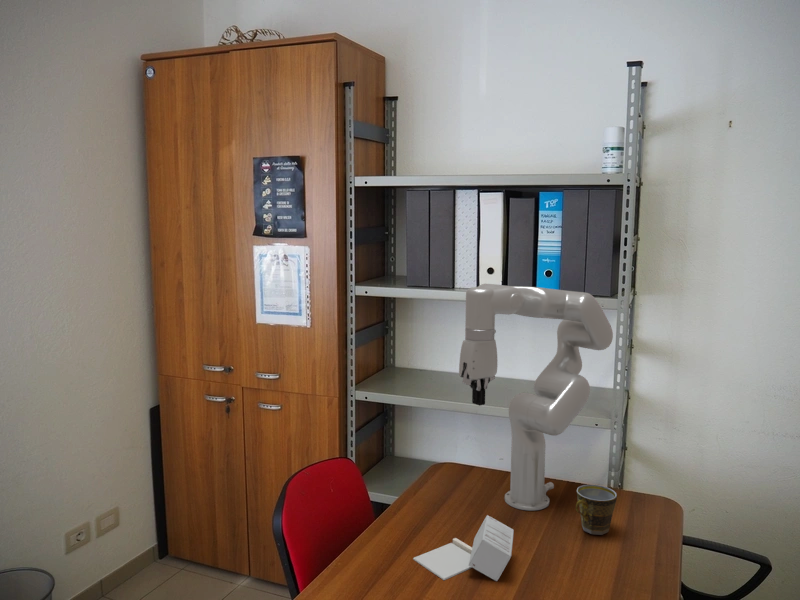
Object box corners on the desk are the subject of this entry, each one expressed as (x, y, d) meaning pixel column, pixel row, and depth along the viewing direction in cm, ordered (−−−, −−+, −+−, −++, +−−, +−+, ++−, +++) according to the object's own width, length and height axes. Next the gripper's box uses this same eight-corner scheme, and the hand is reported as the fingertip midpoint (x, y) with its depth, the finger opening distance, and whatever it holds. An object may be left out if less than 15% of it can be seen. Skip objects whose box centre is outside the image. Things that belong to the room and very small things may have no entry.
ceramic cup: (591, 516, 170) (592, 481, 169) (623, 531, 162) (625, 494, 161) (559, 529, 163) (560, 493, 161) (591, 545, 155) (593, 507, 153)
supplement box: (500, 553, 151) (496, 583, 139) (473, 538, 152) (466, 565, 140) (515, 529, 149) (512, 556, 137) (487, 513, 150) (482, 539, 138)
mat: (451, 544, 155) (451, 542, 155) (482, 563, 146) (482, 561, 146) (413, 559, 148) (413, 557, 148) (443, 580, 139) (443, 578, 139)
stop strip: (455, 542, 156) (455, 537, 156) (487, 561, 147) (487, 556, 147) (452, 543, 155) (452, 539, 155) (484, 562, 147) (484, 557, 146)
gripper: (489, 330, 169) (488, 396, 172) (448, 335, 160) (447, 405, 163) (510, 334, 163) (508, 402, 166) (468, 340, 155) (467, 412, 157)
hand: (478, 403), depth 164 cm, fingers closed
